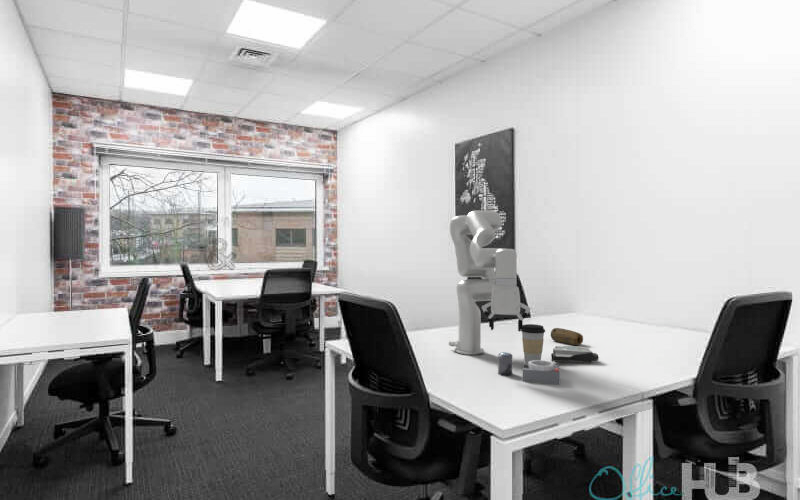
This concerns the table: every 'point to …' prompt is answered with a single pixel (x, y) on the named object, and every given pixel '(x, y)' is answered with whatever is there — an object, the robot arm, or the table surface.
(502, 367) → the lens
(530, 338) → the coffee cup
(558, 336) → the brown wooden cylinder
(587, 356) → the grey plastic handled piece
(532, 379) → the camera body
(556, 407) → the table surface
